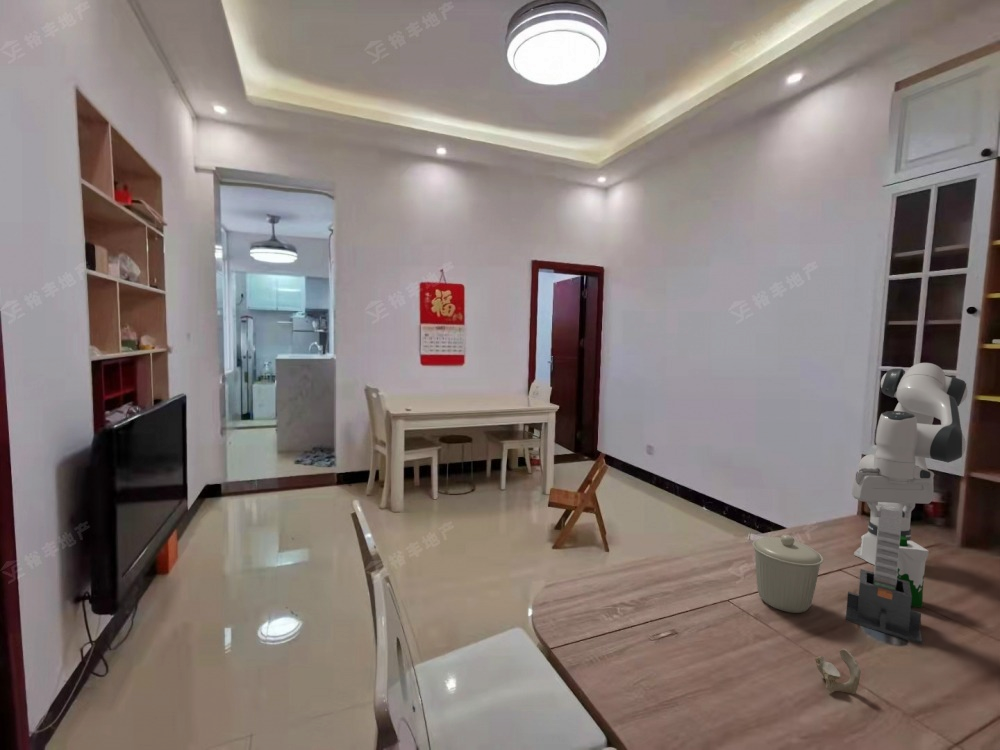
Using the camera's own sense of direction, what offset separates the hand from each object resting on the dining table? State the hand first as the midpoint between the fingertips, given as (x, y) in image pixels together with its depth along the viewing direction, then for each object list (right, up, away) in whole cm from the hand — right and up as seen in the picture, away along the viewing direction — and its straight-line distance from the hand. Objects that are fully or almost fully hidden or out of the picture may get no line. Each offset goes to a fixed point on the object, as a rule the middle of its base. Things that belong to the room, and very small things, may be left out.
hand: (889, 517), depth 129 cm
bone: (-35, -31, -26) cm, 54 cm away
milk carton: (+14, -30, +12) cm, 36 cm away
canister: (-25, -29, +8) cm, 39 cm away
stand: (-1, -30, +2) cm, 30 cm away
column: (-1, -21, +1) cm, 21 cm away
